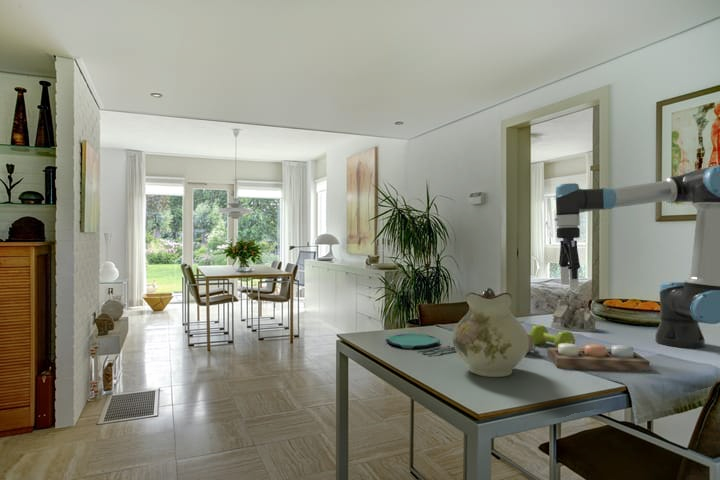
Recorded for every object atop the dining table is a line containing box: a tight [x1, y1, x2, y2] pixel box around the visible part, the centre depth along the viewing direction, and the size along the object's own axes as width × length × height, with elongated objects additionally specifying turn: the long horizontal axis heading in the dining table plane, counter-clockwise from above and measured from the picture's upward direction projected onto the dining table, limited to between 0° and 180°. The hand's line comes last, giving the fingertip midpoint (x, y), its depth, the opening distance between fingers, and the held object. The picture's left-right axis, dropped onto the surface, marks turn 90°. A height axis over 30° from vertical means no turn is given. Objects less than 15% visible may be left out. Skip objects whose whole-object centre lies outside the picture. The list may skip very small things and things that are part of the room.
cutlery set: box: [385, 332, 457, 358], centre depth 169 cm, size 20×30×2 cm, turn 27°
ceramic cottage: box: [550, 294, 597, 333], centre depth 197 cm, size 16×16×15 cm
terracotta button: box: [583, 343, 606, 357], centre depth 142 cm, size 6×6×4 cm
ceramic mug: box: [526, 334, 537, 354], centre depth 159 cm, size 11×8×8 cm
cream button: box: [558, 343, 579, 356], centre depth 144 cm, size 6×6×4 cm
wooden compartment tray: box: [546, 347, 651, 371], centre depth 142 cm, size 26×14×3 cm, turn 78°
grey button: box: [610, 344, 634, 358], centre depth 141 cm, size 6×6×4 cm
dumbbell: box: [528, 324, 576, 348], centre depth 164 cm, size 16×8×7 cm, turn 21°
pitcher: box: [452, 287, 529, 378], centre depth 136 cm, size 22×24×25 cm
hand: (569, 286), depth 158 cm, fingers open, 13 cm apart
